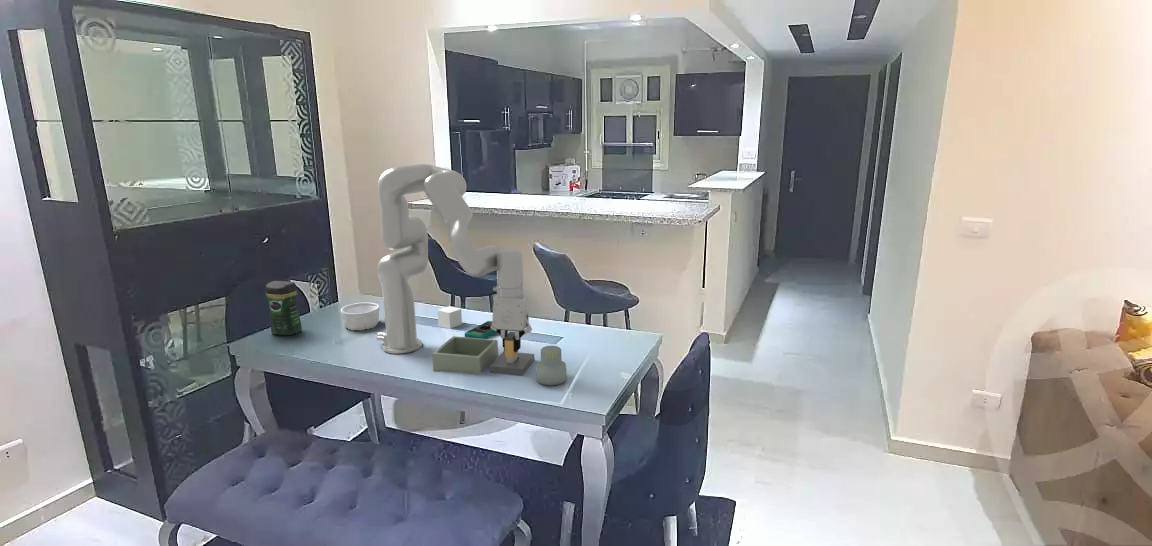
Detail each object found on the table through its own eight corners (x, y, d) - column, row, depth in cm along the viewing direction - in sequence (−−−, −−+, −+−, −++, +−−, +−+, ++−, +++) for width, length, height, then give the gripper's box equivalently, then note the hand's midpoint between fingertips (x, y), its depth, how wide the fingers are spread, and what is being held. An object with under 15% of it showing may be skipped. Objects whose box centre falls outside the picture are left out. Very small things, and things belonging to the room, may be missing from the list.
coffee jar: (306, 329, 217) (300, 279, 213) (290, 337, 210) (284, 285, 205) (283, 327, 220) (276, 277, 215) (267, 334, 212) (260, 283, 208)
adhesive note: (438, 325, 221) (437, 310, 220) (450, 321, 226) (449, 306, 224) (450, 329, 218) (449, 313, 216) (462, 324, 223) (461, 308, 221)
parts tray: (433, 370, 182) (432, 353, 180) (454, 352, 196) (453, 336, 195) (480, 375, 179) (479, 357, 177) (498, 356, 193) (497, 339, 191)
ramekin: (373, 332, 215) (371, 313, 213) (336, 332, 215) (334, 313, 213) (385, 320, 228) (384, 302, 226) (350, 320, 228) (348, 302, 226)
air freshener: (567, 389, 169) (566, 355, 167) (537, 390, 169) (536, 356, 166) (564, 373, 180) (564, 341, 177) (536, 374, 179) (535, 342, 177)
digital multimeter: (505, 330, 218) (505, 322, 217) (481, 343, 205) (481, 335, 204) (488, 327, 221) (488, 319, 220) (463, 340, 208) (463, 332, 207)
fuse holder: (490, 374, 179) (489, 366, 179) (503, 358, 191) (503, 351, 190) (522, 377, 177) (522, 369, 177) (534, 361, 189) (534, 353, 188)
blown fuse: (505, 365, 182) (504, 337, 179) (510, 359, 186) (510, 331, 184) (513, 366, 181) (512, 337, 179) (518, 359, 186) (518, 332, 183)
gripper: (479, 293, 176) (481, 352, 181) (532, 297, 173) (533, 357, 177) (489, 286, 183) (490, 343, 188) (540, 289, 180) (541, 348, 184)
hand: (511, 349), depth 183 cm, fingers closed on blown fuse, 2 cm apart
